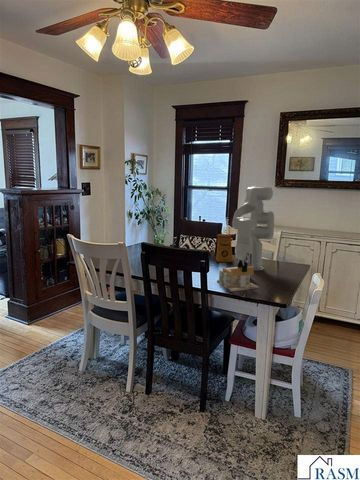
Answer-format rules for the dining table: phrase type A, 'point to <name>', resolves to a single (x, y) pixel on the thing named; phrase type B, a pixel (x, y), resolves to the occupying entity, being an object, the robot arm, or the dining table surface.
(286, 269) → the dining table surface
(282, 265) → the dining table surface
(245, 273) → the tan u-shaped bracket
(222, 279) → the white block cluster
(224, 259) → the coffee package
